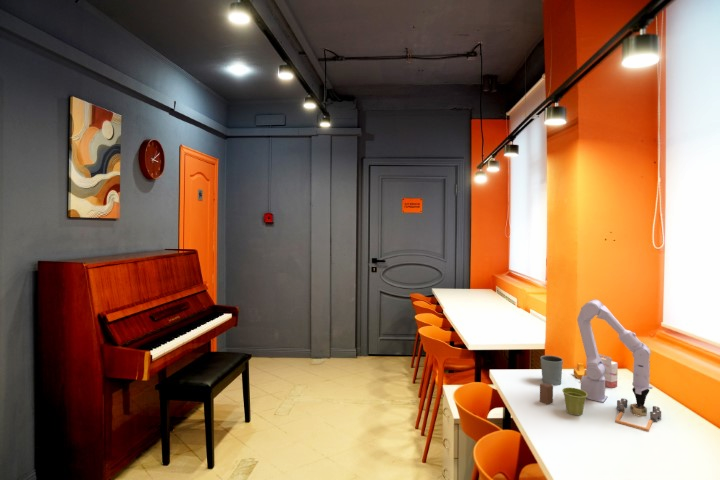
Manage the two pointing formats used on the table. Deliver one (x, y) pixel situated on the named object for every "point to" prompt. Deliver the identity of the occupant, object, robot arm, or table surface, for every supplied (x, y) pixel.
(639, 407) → the brass nut
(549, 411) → the table surface
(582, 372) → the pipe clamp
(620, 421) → the orange bay
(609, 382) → the ink cartridge box
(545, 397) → the wooden block
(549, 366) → the grey bucket
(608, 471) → the table surface
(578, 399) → the plant pot
